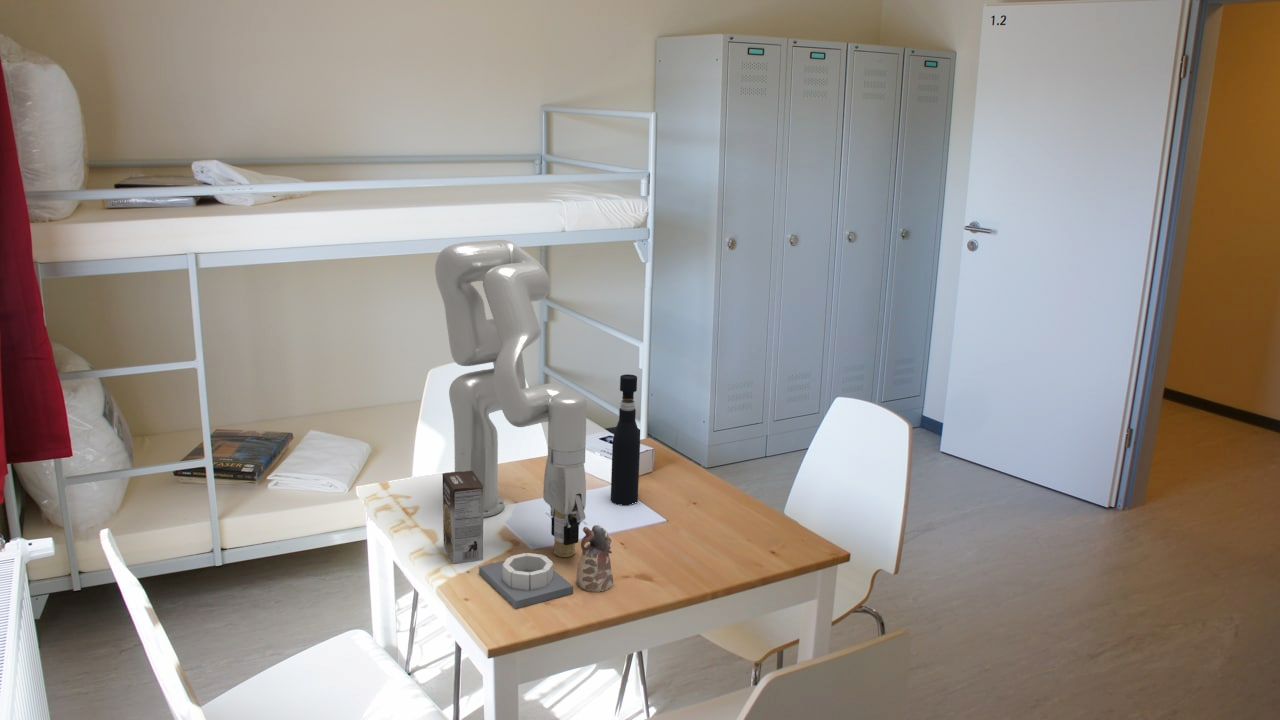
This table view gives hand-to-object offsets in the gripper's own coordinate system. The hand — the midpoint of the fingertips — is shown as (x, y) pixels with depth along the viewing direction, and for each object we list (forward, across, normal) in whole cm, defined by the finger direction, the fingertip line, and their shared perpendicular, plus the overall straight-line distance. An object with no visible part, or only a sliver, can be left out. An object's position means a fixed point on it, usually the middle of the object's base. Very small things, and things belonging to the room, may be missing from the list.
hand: (564, 538), depth 205 cm
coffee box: (+4, -10, -18) cm, 21 cm away
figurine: (+4, +14, -1) cm, 15 cm away
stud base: (+3, +9, -13) cm, 16 cm away
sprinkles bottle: (+4, 0, 0) cm, 4 cm away
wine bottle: (+4, -18, +26) cm, 32 cm away
